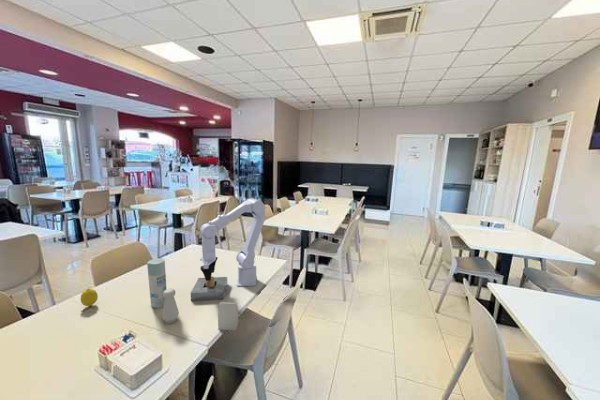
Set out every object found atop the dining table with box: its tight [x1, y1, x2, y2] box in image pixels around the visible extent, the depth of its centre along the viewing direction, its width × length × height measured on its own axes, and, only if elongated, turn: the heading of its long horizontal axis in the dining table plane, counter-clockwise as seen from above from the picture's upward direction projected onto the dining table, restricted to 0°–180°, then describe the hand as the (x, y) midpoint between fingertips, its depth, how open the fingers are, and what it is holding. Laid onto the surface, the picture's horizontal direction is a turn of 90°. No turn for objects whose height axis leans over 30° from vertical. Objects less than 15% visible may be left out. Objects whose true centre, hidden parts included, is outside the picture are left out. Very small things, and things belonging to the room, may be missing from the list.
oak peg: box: [205, 276, 215, 287], centre depth 121 cm, size 4×4×7 cm
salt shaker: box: [162, 288, 180, 324], centre depth 99 cm, size 6×6×13 cm
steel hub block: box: [190, 276, 228, 302], centre depth 121 cm, size 14×14×4 cm
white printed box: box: [217, 301, 239, 331], centre depth 97 cm, size 4×7×10 cm, turn 87°
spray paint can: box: [146, 257, 167, 309], centre depth 109 cm, size 6×6×20 cm
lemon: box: [80, 288, 99, 307], centre depth 107 cm, size 6×6×8 cm
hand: (209, 276), depth 120 cm, fingers open, 7 cm apart
